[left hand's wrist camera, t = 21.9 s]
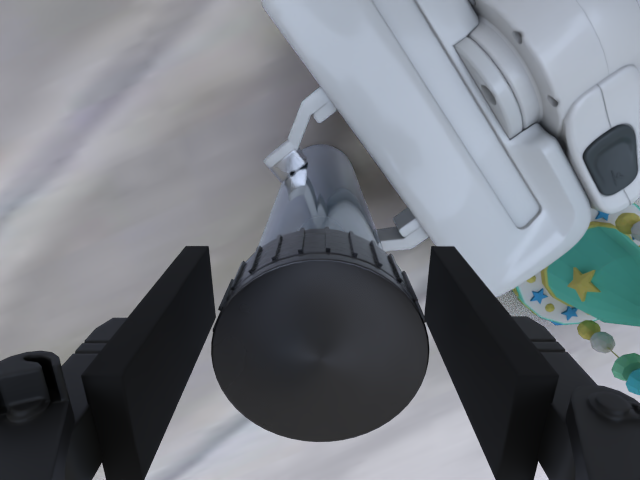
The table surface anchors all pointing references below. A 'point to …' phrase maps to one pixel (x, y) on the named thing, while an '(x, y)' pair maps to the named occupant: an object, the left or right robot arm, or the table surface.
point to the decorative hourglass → (595, 286)
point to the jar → (321, 198)
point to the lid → (320, 337)
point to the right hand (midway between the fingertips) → (308, 213)
